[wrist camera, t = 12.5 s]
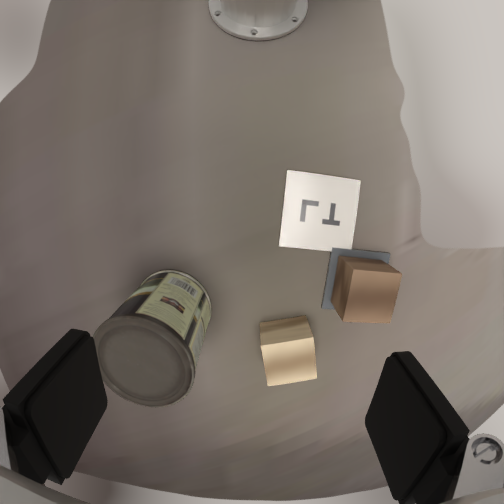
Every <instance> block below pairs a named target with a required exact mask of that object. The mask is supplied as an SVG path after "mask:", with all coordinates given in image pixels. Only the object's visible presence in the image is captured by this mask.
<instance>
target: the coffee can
mask: <svg viewBox="0 0 504 504" xmlns="http://www.w3.org/2000/svg"><path fill="white" fill-rule="evenodd" d="M211 311H212V309H211V302H210V299H209V296H208V294H207V292H206V290H205V289H204V288H203V286H202V285H201V284H200V283H199V282H198V281H197V280H195V279H194V278H193V277H191V276H189V275H188V274H185V273H183V272H179V271H174V270H164V271H159V272H156V273H154V274H152V275H150V276H149V277H148V278H146V279H145V280H144V281H143V283H142V284H141V285H140V287H139V288H138V289H137V290H136V291H135V292H134V293H133V294H132V295H131V296H130V297H129V298H128V299H127V300H126V301H125V302H124V303H123V304H122V305H121V306H120V307H119V308H118V309H117V311H116V312H115V313H114V314H113V315H112V316H111V317H110V318H109V319H108V320H106V321H105V322H104V323H102V324H101V325H100V326H99V327H98V329H97V330H96V331H95V333H94V335H93V339H94V341H95V346H96V352H97V357H98V362H99V366H100V371H101V375H102V380H103V382H104V383H105V384H106V385H107V386H108V387H109V388H110V389H111V390H112V391H113V392H115V393H116V394H117V395H119V396H120V397H122V398H124V399H125V400H127V401H129V402H132V403H134V404H137V405H141V406H145V407H155V408H158V407H167V406H170V405H173V404H176V403H178V402H179V401H181V400H182V399H184V398H185V397H186V396H187V395H188V393H189V392H190V390H191V388H192V386H193V383H194V378H195V369H196V366H197V362H198V358H199V355H200V351H201V347H202V344H203V340H204V337H205V333H206V330H207V326H208V324H209V321H210V318H211Z"/></svg>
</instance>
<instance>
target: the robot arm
mask: <svg viewBox="0 0 504 504" xmlns="http://www.w3.org/2000/svg"><path fill="white" fill-rule="evenodd" d="M208 6H209V11H210V14H211V17H212V19H213V20H214V22H215V23H216V24H217V25H218V26H219V27H220V28H221V29H222V30H224V31H225V32H227V33H228V34H231V35H233V36H235V37H238V38H242V39H246V40H255V41H261V40H271V39H276V38H279V37H283V36H285V35H287V34H289V33H291V32H292V31H294V30H295V29H296V28H298V27H299V25H300V24H301V23H302V22H303V20H304V18H305V16H306V13H307V10H308V0H209V1H208ZM218 15H219V16H218ZM293 21H295V22H293ZM252 34H256V35H252ZM3 401H4V404H5V405H4V406H3V408H1V407H0V504H89V503H87V502H84V501H81V500H78V499H76V498H73V497H70V496H68V495H65V494H63V493H60V492H58V491H55V490H53V489H51V488H48V487H46V486H45V484H44V483H45V481H46V479H48V480H51V481H53V482H55V483H58V484H60V485H62V483H63V481H64V479H65V478H69V477H70V476H71V474H72V472H73V470H74V468H75V466H76V464H77V463H78V461H79V459H80V457H81V455H82V453H83V451H84V449H85V447H86V445H87V443H88V441H89V440H90V438H91V436H92V434H93V432H94V430H95V428H96V426H97V425H98V423H99V421H100V419H101V417H102V415H103V414H104V412H105V410H106V408H107V396H106V392H105V388H104V384H103V380H102V375H101V371H100V366H99V362H98V357H97V352H96V346H95V341H94V339H93V337H90V334H89V333H88V332H87V331H82V330H77V329H71V330H69V331H68V332H67V333H66V334H65V335H64V336H63V337H62V338H61V339H60V340H59V341H58V342H57V343H56V344H55V345H54V346H53V347H52V348H51V349H50V350H49V351H48V352H47V353H46V354H45V355H44V356H43V357H42V358H41V359H40V360H39V361H38V362H37V363H36V364H35V365H34V367H33V368H32V369H31V370H30V371H29V372H28V373H27V374H26V375H25V376H24V377H23V378H22V379H21V380H20V381H19V382H18V383H17V384H16V386H15V387H14V388H13V389H12V390H11V391H10V392H9V393H8V394H7V395H6V397H5V398H4V399H3ZM365 425H366V428H367V431H368V433H369V436H370V438H371V441H372V444H373V446H374V449H375V451H376V454H377V456H378V459H379V462H380V464H381V467H382V470H383V472H384V475H385V478H386V480H387V483H388V486H389V488H390V491H391V494H392V496H393V498H394V499H395V500H398V501H399V504H415V503H416V504H504V444H503V443H502V442H501V440H499V439H498V438H497V437H495V436H493V435H489V434H484V433H483V434H477V435H475V436H473V437H472V438H471V439H469V438H468V436H467V435H468V433H469V429H468V428H467V426H466V425H465V423H464V422H463V421H462V419H461V418H460V416H459V415H458V414H457V412H456V411H455V410H454V408H453V407H452V405H451V404H450V403H449V401H448V400H447V399H446V397H445V396H444V395H443V393H442V392H441V391H440V389H439V388H438V387H437V385H436V384H435V383H434V381H433V380H432V379H431V377H430V376H429V375H428V373H427V372H426V371H425V370H424V368H423V367H422V366H421V364H420V363H419V362H418V361H417V359H416V358H415V357H414V355H413V354H412V353H411V352H409V351H405V352H394V353H392V354H391V356H390V357H387V359H386V361H385V364H384V367H383V370H382V373H381V376H380V379H379V382H378V385H377V388H376V390H375V393H374V396H373V399H372V401H371V404H370V407H369V409H368V412H367V414H366V417H365Z"/></svg>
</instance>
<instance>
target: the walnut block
mask: <svg viewBox="0 0 504 504" xmlns="http://www.w3.org/2000/svg"><path fill="white" fill-rule="evenodd" d="M401 277H402V273H400V272H399V271H397V270H396V269H394V268H393V267H392V266H390V265H389V264H387V263H386V262H384V261H383V260H377V259H367V258H358V257H348V256H339V257H338V263H337V268H336V274H335V280H334V285H333V290H332V296H331V303H332V305H333V306H334V308H335V310H336V311H337V313H338V314H339V316H340V318H341V319H342V321H343V322H367V323H390V321H391V318H392V314H393V310H394V306H395V302H396V298H397V294H398V290H399V286H400V282H401Z"/></svg>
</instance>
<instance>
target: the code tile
mask: <svg viewBox="0 0 504 504" xmlns="http://www.w3.org/2000/svg"><path fill="white" fill-rule="evenodd" d="M360 182H361V181H360V180H354V179H348V178H342V177H335V176H329V175H322V174H315V173H307V172H300V171H292V170H287V175H286V184H285V194H284V203H283V212H282V221H281V229H280V238H279V246H283V247H293V248H303V249H313V250H323V251H332V247H333V248H343V249H351V248H352V242H353V235H354V229H355V222H356V215H357V207H358V199H359V191H360Z"/></svg>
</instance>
